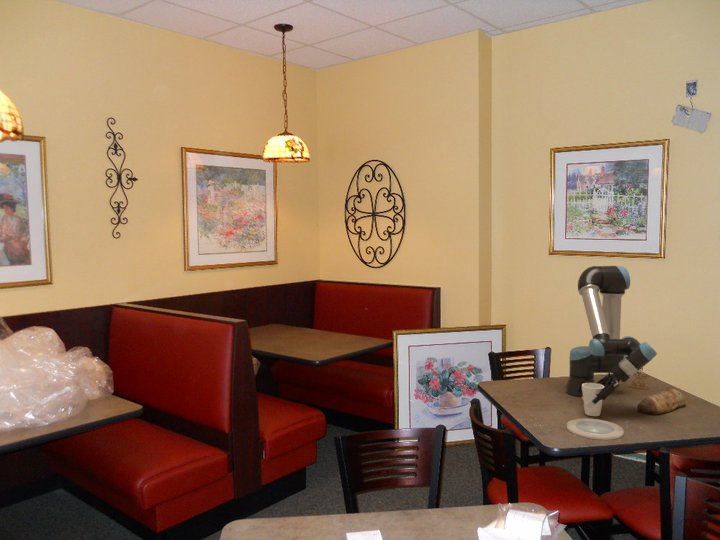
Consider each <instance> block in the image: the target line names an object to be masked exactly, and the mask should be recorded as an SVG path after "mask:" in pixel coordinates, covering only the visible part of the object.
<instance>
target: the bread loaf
mask: <svg viewBox="0 0 720 540" xmlns="http://www.w3.org/2000/svg"><path fill="white" fill-rule="evenodd" d="M685 404H686V397H685V396H684V394H683V393H682V392H681V391H679V390H676V389H675V388H674V389H673V388H668V389H667V388H666V389H664V390H663V389H662V390H661V391H657V392H656V393H653V394H651V395H649V396H648V395H647V396H646V397H645V398H643V399H642V400H641V401H640V402H639V403H638V404H637V407H636V409H637V411H638V412H639V413H640V414H646V415H651V416H657V415H661V414H665V413H670V412H674V410H676V409H679V408H683V407H684V406H685Z"/></svg>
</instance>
